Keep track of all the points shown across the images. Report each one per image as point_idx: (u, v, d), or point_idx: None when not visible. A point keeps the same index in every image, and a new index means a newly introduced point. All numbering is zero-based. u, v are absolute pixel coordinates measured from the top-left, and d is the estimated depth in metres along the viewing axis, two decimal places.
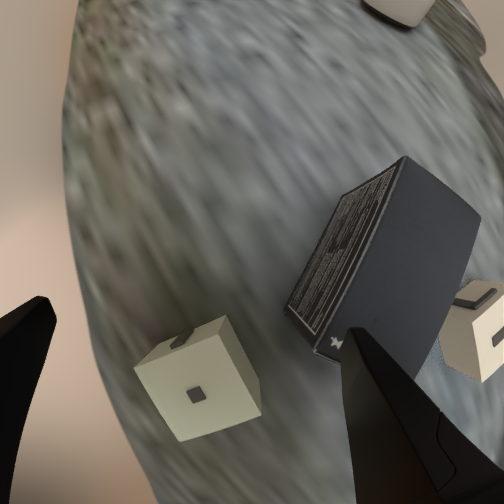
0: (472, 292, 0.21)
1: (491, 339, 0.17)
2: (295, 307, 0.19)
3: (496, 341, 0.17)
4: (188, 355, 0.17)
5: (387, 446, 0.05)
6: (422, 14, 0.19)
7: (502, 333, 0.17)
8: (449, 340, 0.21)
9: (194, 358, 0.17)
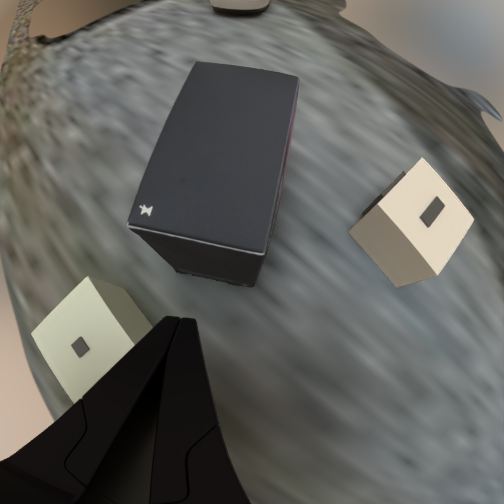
0: None
1: (420, 219, 0.17)
2: None
3: (428, 220, 0.17)
4: (68, 305, 0.15)
5: None
6: None
7: (432, 209, 0.17)
8: (380, 252, 0.21)
9: (73, 307, 0.15)
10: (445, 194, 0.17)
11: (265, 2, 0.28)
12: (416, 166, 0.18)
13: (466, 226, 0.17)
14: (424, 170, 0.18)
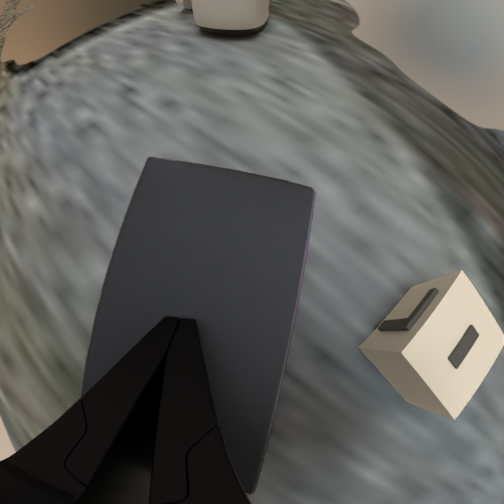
0: (408, 304, 0.17)
1: (448, 359, 0.12)
2: None
3: (457, 359, 0.12)
4: None
5: None
6: (255, 8, 0.21)
7: (464, 345, 0.12)
8: (393, 377, 0.16)
9: None
10: (481, 317, 0.13)
11: (263, 19, 0.24)
12: (453, 285, 0.13)
13: (496, 351, 0.12)
14: (462, 289, 0.13)
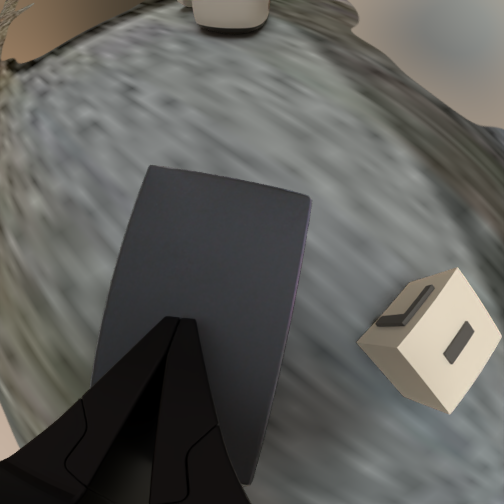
0: (405, 300, 0.17)
1: (443, 355, 0.13)
2: None
3: (453, 355, 0.13)
4: None
5: None
6: (254, 7, 0.21)
7: (459, 341, 0.13)
8: (390, 372, 0.17)
9: None
10: (476, 314, 0.13)
11: (262, 18, 0.24)
12: (449, 282, 0.14)
13: (492, 348, 0.13)
14: (457, 286, 0.14)
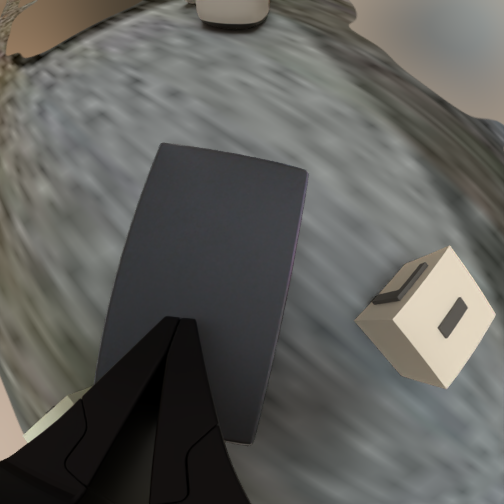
0: (400, 279, 0.18)
1: (438, 329, 0.14)
2: None
3: (447, 329, 0.14)
4: (53, 419, 0.12)
5: None
6: (255, 4, 0.22)
7: (453, 316, 0.14)
8: (387, 349, 0.18)
9: None
10: (469, 291, 0.14)
11: (263, 14, 0.24)
12: (442, 259, 0.15)
13: (486, 325, 0.14)
14: (450, 263, 0.15)
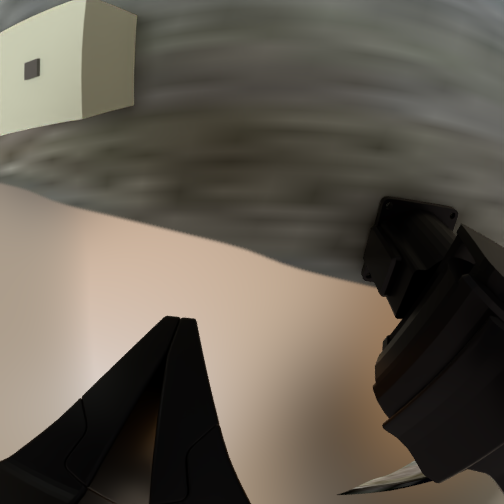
0: None
1: None
2: None
3: None
4: (3, 67, 0.08)
5: None
6: None
7: None
8: None
9: (6, 61, 0.08)
10: None
11: None
12: None
13: None
14: None
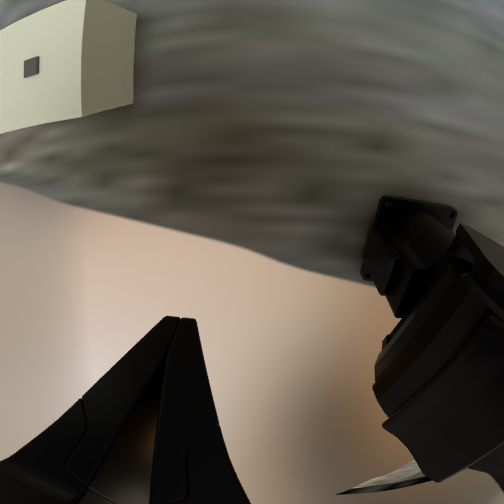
0: None
1: None
2: None
3: None
4: (2, 65, 0.08)
5: None
6: None
7: None
8: None
9: (5, 59, 0.08)
10: None
11: None
12: None
13: None
14: None
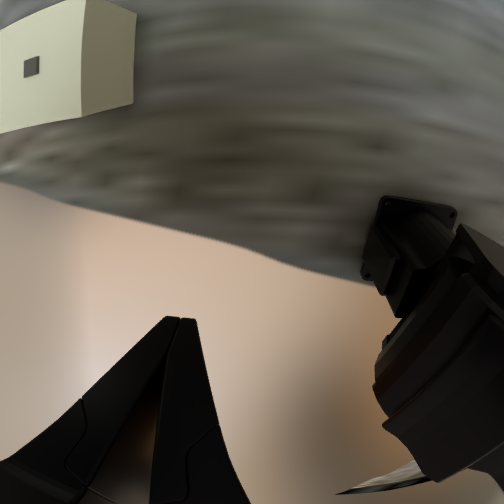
0: None
1: None
2: None
3: None
4: (2, 65, 0.08)
5: None
6: None
7: None
8: None
9: (5, 59, 0.08)
10: None
11: None
12: None
13: None
14: None
